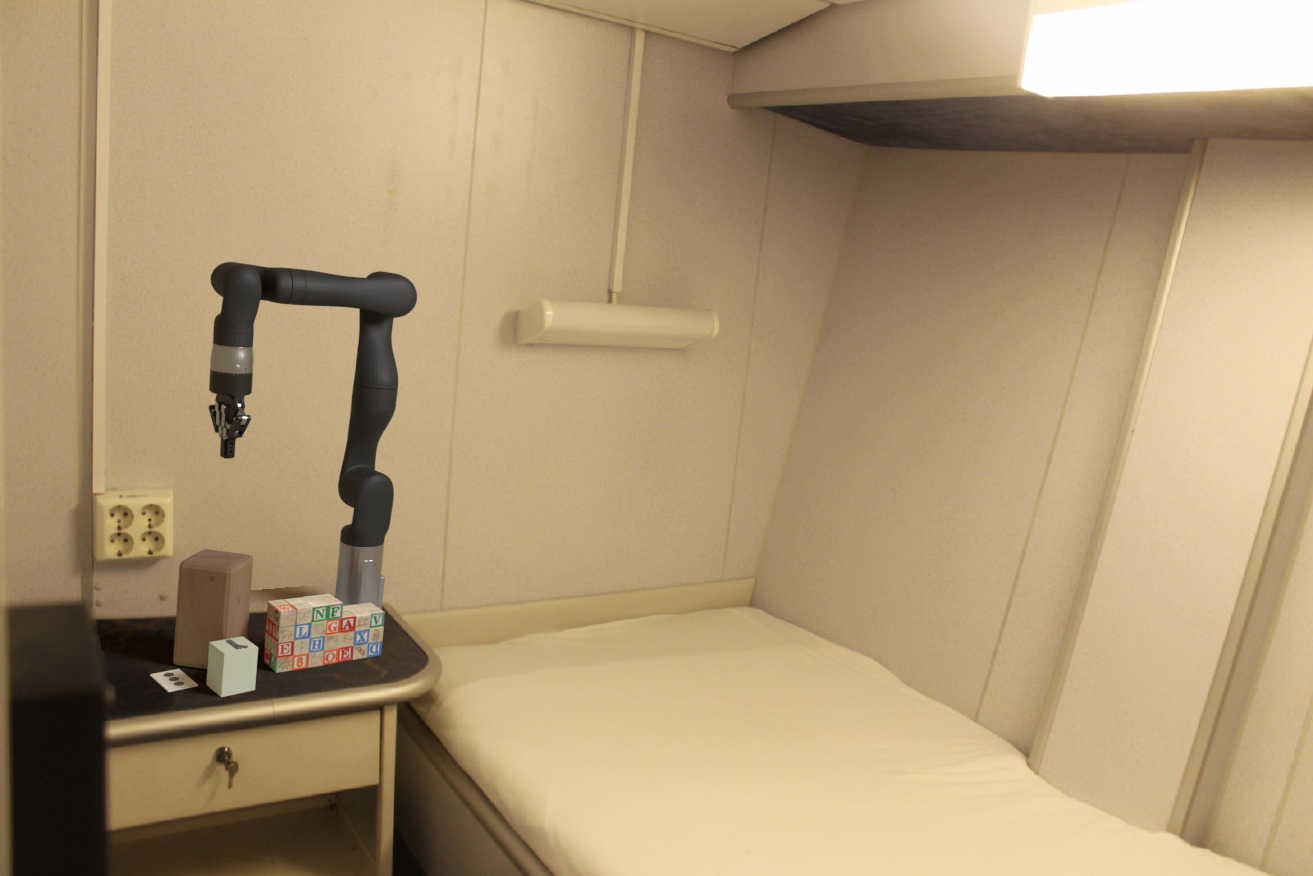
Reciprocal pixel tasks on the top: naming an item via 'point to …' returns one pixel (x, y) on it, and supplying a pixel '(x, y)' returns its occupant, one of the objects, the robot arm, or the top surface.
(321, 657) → the stack of blocks
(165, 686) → the count card
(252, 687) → the digit block
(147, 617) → the top surface
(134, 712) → the top surface
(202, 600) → the wooden block
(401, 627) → the top surface
